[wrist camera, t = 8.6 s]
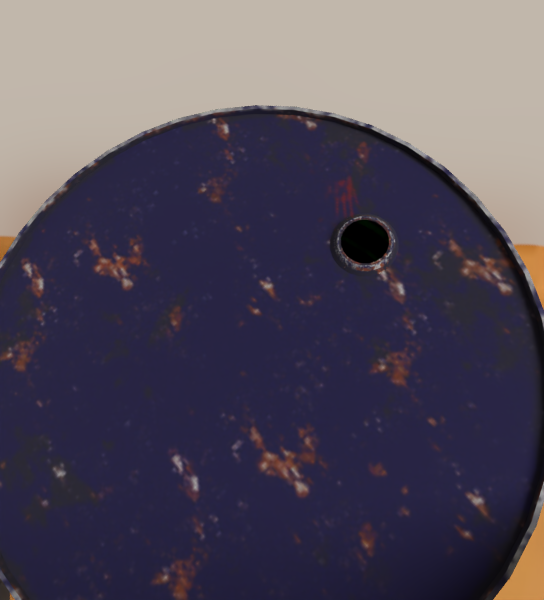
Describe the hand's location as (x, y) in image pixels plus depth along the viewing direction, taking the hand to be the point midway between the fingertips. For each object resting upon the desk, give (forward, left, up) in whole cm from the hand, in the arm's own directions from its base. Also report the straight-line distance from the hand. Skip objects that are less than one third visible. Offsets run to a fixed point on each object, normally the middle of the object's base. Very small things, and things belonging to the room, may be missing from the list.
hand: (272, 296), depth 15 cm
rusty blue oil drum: (+1, -3, -8) cm, 9 cm away
